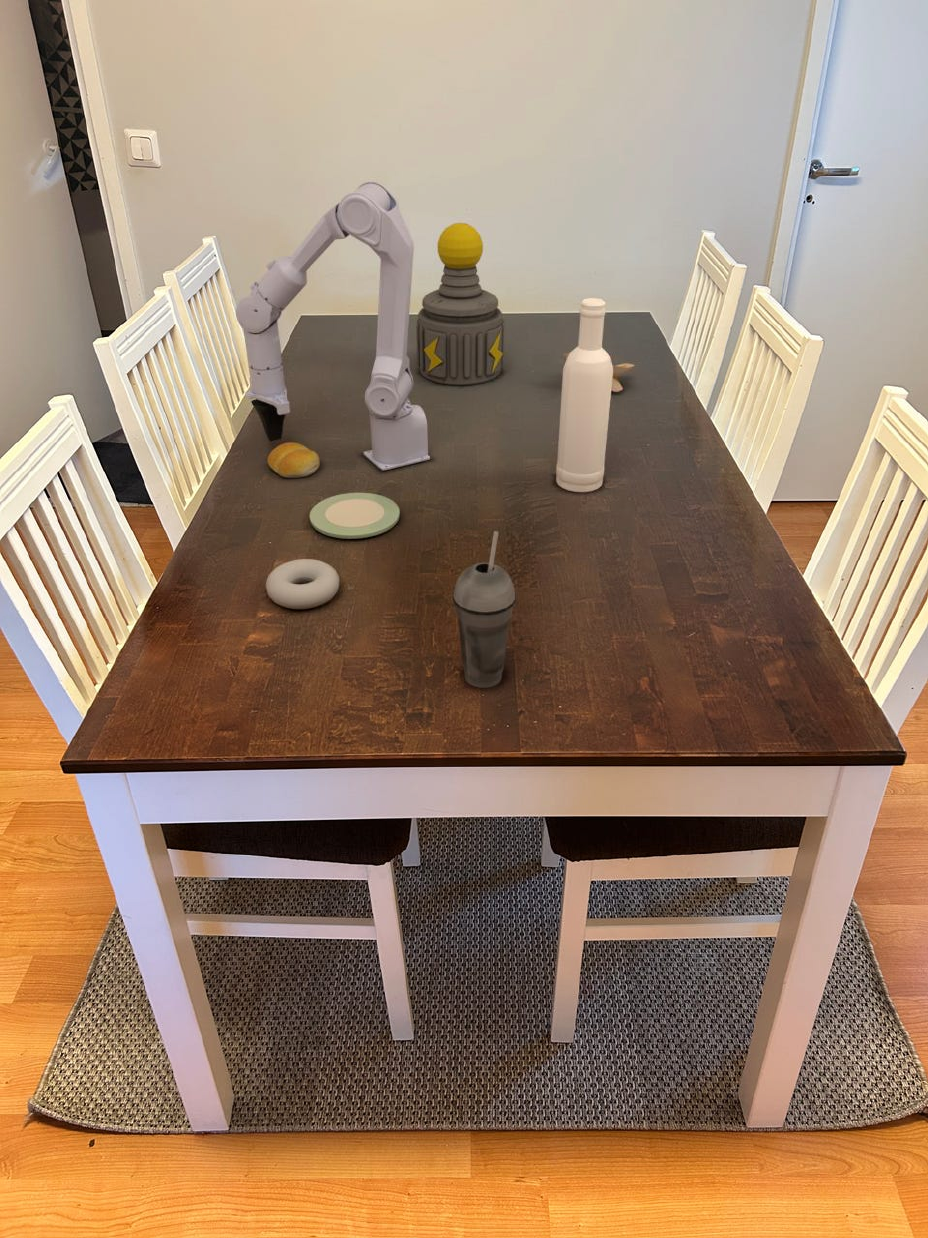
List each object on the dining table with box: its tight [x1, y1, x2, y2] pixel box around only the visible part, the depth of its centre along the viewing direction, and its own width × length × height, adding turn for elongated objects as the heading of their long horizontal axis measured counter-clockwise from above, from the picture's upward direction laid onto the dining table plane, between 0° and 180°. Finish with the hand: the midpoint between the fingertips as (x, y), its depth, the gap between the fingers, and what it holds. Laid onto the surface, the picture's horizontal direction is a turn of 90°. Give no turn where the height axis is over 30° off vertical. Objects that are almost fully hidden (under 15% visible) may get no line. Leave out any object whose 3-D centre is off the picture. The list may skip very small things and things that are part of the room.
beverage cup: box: [452, 530, 517, 689], centre depth 107 cm, size 7×7×20 cm
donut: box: [265, 558, 341, 610], centre depth 127 cm, size 10×4×10 cm
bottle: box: [555, 297, 613, 493], centre depth 148 cm, size 8×8×30 cm
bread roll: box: [267, 441, 321, 479], centre depth 159 cm, size 8×9×4 cm
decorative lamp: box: [415, 222, 505, 387], centre depth 191 cm, size 19×19×30 cm
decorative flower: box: [560, 352, 636, 393], centre depth 190 cm, size 15×11×10 cm
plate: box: [309, 492, 401, 540], centre depth 145 cm, size 14×14×1 cm
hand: (274, 438), depth 166 cm, fingers closed
